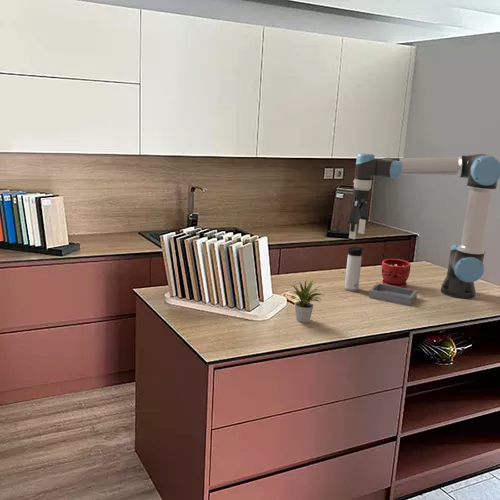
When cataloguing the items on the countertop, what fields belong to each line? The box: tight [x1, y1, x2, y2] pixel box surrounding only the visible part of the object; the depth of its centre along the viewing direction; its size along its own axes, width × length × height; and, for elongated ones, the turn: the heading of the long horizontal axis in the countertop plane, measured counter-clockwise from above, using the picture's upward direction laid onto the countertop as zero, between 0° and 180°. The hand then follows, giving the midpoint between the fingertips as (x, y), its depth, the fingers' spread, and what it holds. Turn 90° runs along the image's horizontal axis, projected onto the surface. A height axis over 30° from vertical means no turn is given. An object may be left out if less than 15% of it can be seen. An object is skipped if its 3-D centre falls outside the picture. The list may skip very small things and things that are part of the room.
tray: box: [368, 282, 418, 307], centre depth 250 cm, size 18×13×4 cm
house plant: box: [289, 278, 325, 323], centre depth 214 cm, size 14×14×16 cm
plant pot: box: [381, 258, 412, 288], centre depth 266 cm, size 13×13×12 cm
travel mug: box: [344, 246, 364, 292], centre depth 256 cm, size 6×7×20 cm
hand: (356, 236), depth 252 cm, fingers open, 13 cm apart
